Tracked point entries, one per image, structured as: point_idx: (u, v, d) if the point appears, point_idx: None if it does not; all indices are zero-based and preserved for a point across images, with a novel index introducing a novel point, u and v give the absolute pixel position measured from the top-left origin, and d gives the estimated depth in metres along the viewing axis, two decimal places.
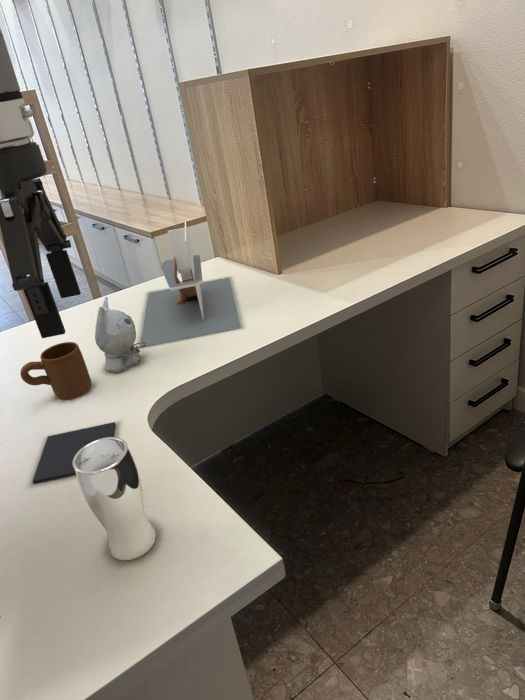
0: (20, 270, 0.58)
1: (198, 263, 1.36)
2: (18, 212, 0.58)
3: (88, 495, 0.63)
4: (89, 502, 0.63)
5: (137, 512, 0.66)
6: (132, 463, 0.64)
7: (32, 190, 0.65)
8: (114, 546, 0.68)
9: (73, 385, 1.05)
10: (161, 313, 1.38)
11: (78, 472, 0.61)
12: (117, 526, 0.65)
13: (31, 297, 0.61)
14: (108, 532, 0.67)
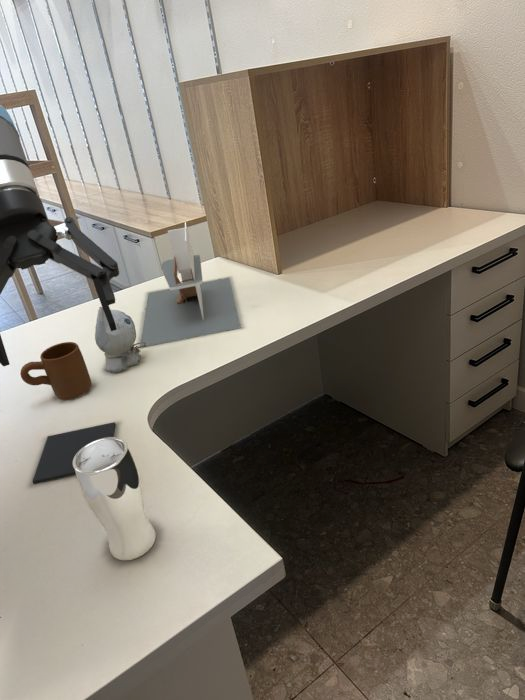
0: None
1: (198, 263, 1.36)
2: None
3: (88, 495, 0.63)
4: (89, 502, 0.63)
5: (137, 512, 0.66)
6: (132, 463, 0.64)
7: None
8: (114, 546, 0.68)
9: (73, 385, 1.05)
10: (161, 312, 1.38)
11: (78, 472, 0.61)
12: (117, 526, 0.65)
13: None
14: (108, 532, 0.67)
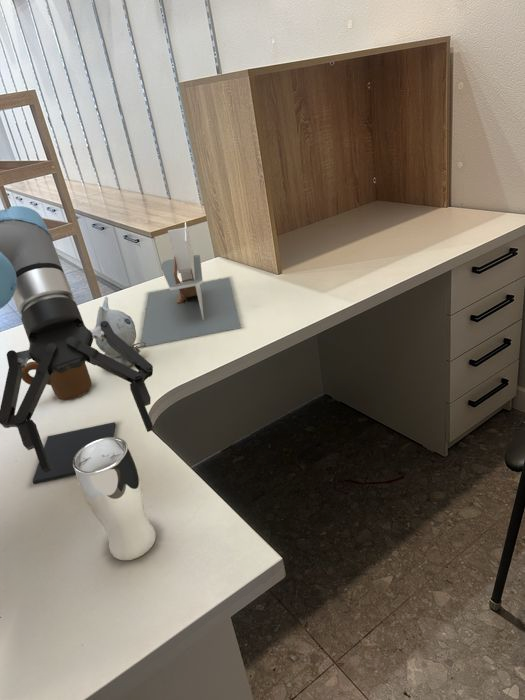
0: None
1: (198, 263, 1.36)
2: None
3: (88, 495, 0.63)
4: (89, 502, 0.63)
5: (137, 512, 0.66)
6: (132, 463, 0.64)
7: None
8: (114, 546, 0.68)
9: (73, 385, 1.05)
10: (161, 312, 1.38)
11: (78, 472, 0.61)
12: (117, 526, 0.65)
13: (145, 386, 0.73)
14: (108, 532, 0.67)
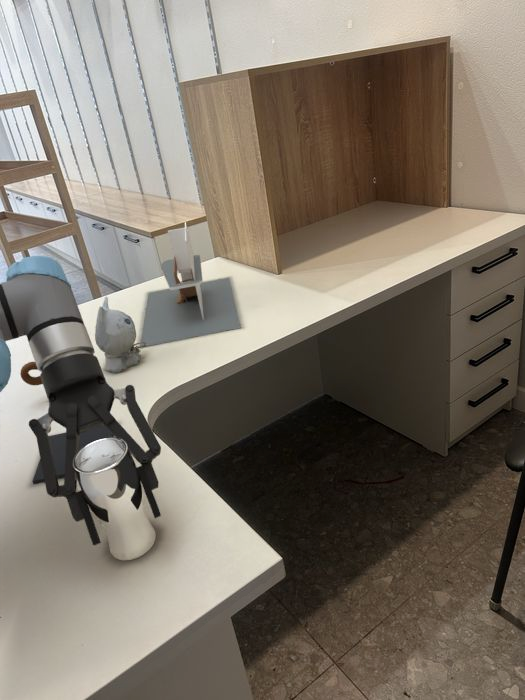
0: None
1: (198, 263, 1.36)
2: None
3: (88, 495, 0.63)
4: (89, 502, 0.63)
5: (137, 512, 0.66)
6: (132, 463, 0.64)
7: None
8: (114, 546, 0.68)
9: None
10: (161, 312, 1.38)
11: (78, 472, 0.61)
12: (117, 526, 0.65)
13: (153, 469, 0.68)
14: (108, 532, 0.67)
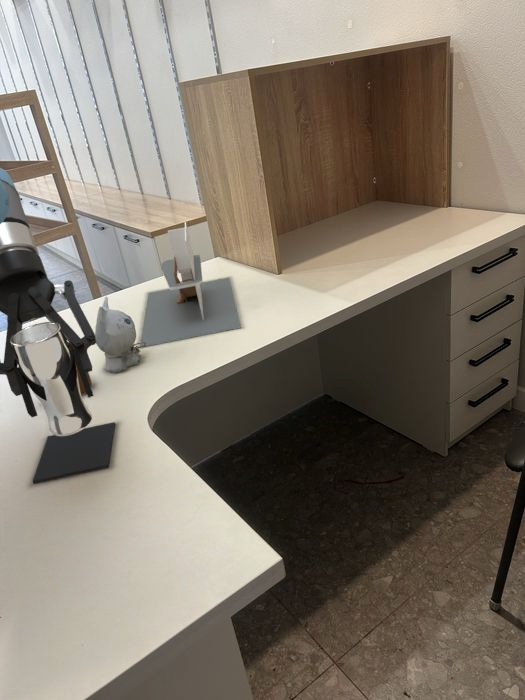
0: None
1: (198, 263, 1.36)
2: None
3: (23, 368, 0.70)
4: (25, 376, 0.71)
5: (71, 390, 0.73)
6: (65, 343, 0.71)
7: None
8: (52, 423, 0.75)
9: None
10: (161, 312, 1.38)
11: (13, 345, 0.69)
12: (52, 401, 0.72)
13: (87, 353, 0.75)
14: (45, 408, 0.74)
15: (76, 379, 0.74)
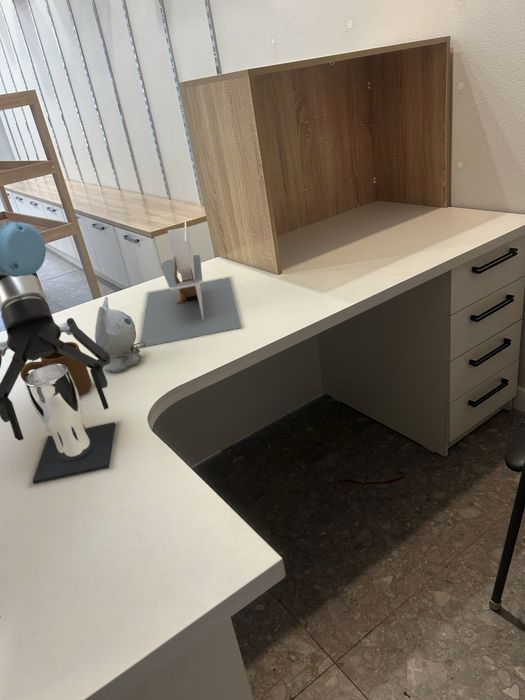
0: None
1: (198, 263, 1.36)
2: None
3: (36, 404, 0.82)
4: (37, 410, 0.83)
5: (76, 421, 0.85)
6: (71, 382, 0.84)
7: None
8: (59, 449, 0.87)
9: None
10: (161, 312, 1.38)
11: (28, 386, 0.81)
12: (60, 432, 0.85)
13: (103, 372, 0.88)
14: (54, 437, 0.86)
15: (80, 412, 0.86)
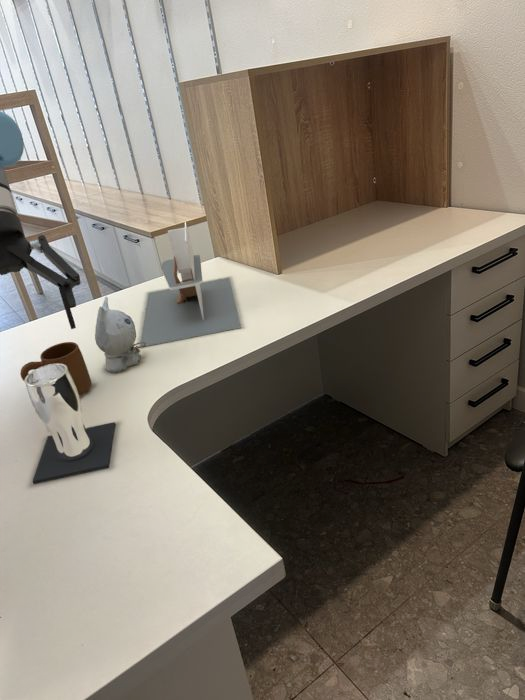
0: None
1: (198, 263, 1.36)
2: None
3: (36, 404, 0.82)
4: (37, 410, 0.83)
5: (76, 421, 0.85)
6: (71, 382, 0.84)
7: None
8: (59, 449, 0.87)
9: None
10: (161, 312, 1.38)
11: (28, 386, 0.81)
12: (60, 432, 0.85)
13: (72, 291, 0.88)
14: (54, 437, 0.86)
15: (80, 412, 0.86)
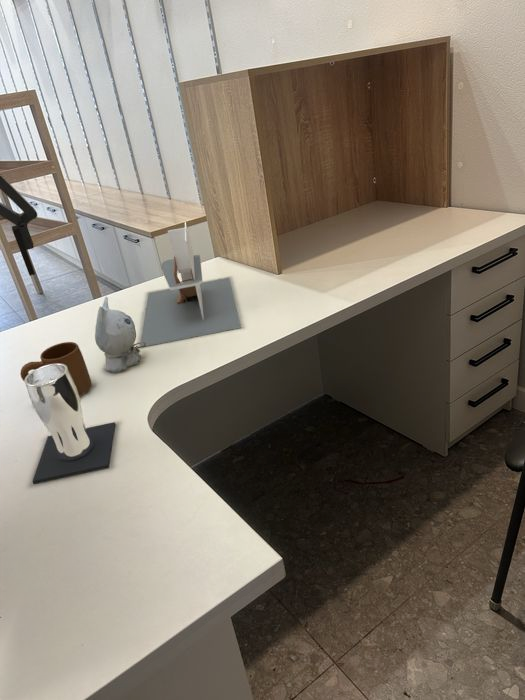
0: (28, 203, 0.72)
1: (198, 263, 1.36)
2: None
3: (36, 404, 0.82)
4: (37, 410, 0.83)
5: (76, 421, 0.85)
6: (71, 382, 0.84)
7: None
8: (59, 449, 0.87)
9: None
10: (161, 312, 1.38)
11: (28, 386, 0.81)
12: (60, 432, 0.85)
13: (28, 231, 0.73)
14: (54, 437, 0.86)
15: (80, 412, 0.86)
